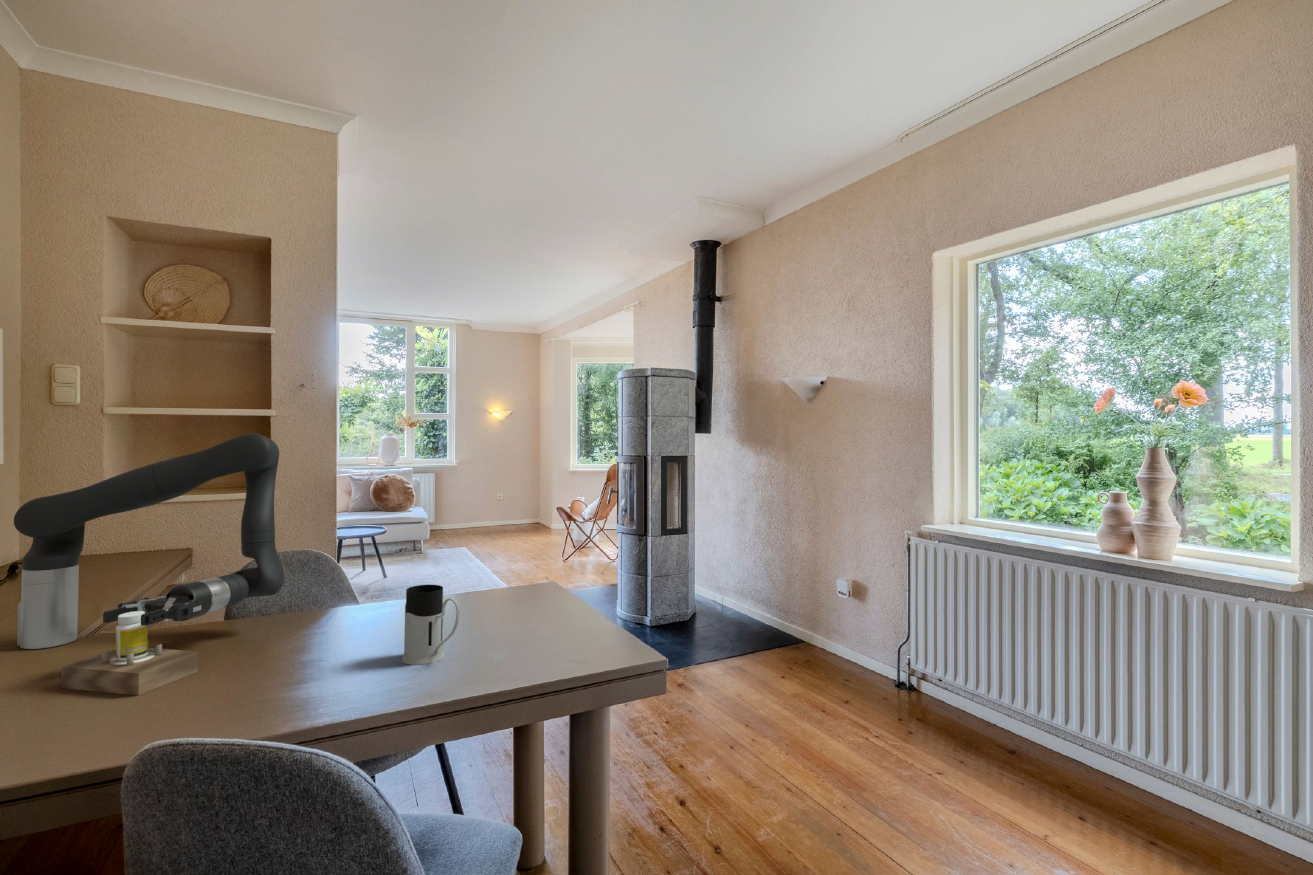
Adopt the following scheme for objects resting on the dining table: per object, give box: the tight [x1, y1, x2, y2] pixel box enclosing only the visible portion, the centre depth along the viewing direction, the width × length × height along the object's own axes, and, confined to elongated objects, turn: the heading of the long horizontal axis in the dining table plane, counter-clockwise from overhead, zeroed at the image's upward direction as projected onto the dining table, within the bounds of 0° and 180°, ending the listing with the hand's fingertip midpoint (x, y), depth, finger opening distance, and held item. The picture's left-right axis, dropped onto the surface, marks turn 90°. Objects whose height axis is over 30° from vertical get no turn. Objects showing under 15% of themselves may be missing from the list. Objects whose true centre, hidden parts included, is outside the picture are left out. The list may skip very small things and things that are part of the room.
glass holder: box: [401, 584, 461, 666], centre depth 134 cm, size 9×14×15 cm, turn 64°
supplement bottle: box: [115, 611, 149, 661], centre depth 120 cm, size 5×5×8 cm
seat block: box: [60, 643, 199, 697], centre depth 120 cm, size 17×12×6 cm
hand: (123, 619), depth 118 cm, fingers open, 8 cm apart
